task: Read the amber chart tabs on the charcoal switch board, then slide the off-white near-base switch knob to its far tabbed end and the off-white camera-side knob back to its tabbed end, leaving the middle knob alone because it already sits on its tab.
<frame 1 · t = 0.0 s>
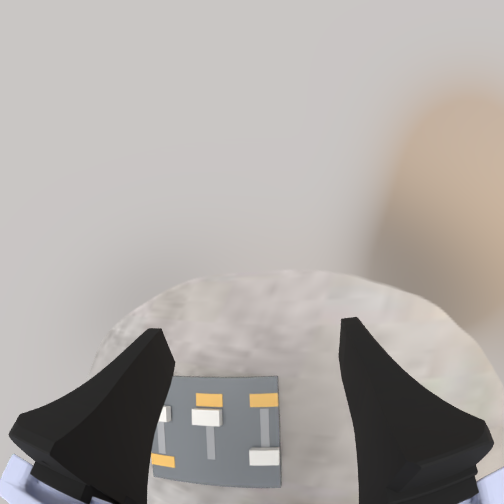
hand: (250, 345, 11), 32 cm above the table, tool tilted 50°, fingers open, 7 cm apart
switch board: (212, 433, 38), on the table
switch a: (264, 456, 33), point 2 cm above the table, slide at 0.0 cm
switch b: (207, 417, 37), point 2 cm above the table, slide at 6.0 cm
switch c: (156, 412, 38), point 2 cm above the table, slide at 6.0 cm
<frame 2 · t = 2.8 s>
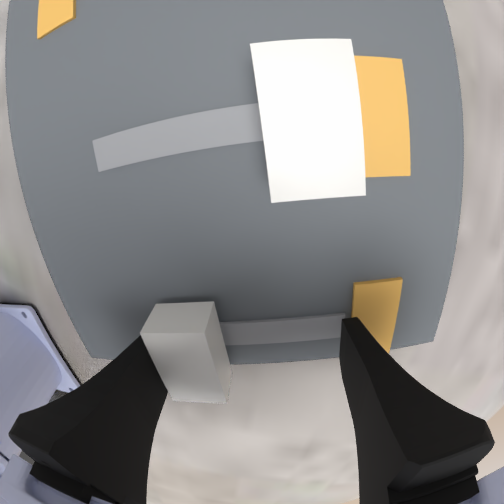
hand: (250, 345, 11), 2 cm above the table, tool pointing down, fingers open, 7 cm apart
switch board: (213, 128, 10), on the table
switch a: (191, 356, 11), point 2 cm above the table, slide at 1.1 cm, touching gripper
switch b: (308, 117, 7), point 2 cm above the table, slide at 6.0 cm
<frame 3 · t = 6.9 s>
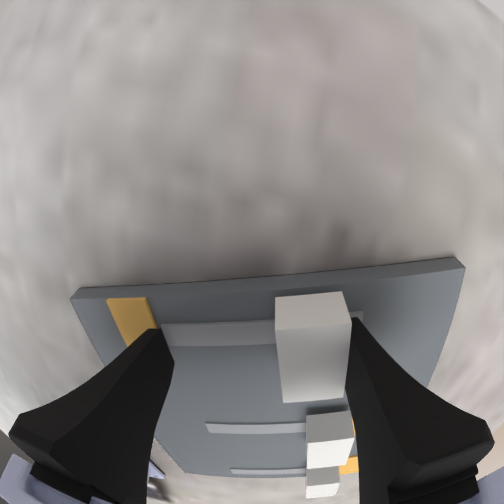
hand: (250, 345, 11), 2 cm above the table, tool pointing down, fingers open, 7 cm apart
switch board: (276, 414, 16), on the table
switch a: (321, 482, 17), point 2 cm above the table, slide at 6.1 cm
switch b: (327, 442, 14), point 2 cm above the table, slide at 6.0 cm
switch c: (311, 351, 10), point 2 cm above the table, slide at 5.0 cm, touching gripper
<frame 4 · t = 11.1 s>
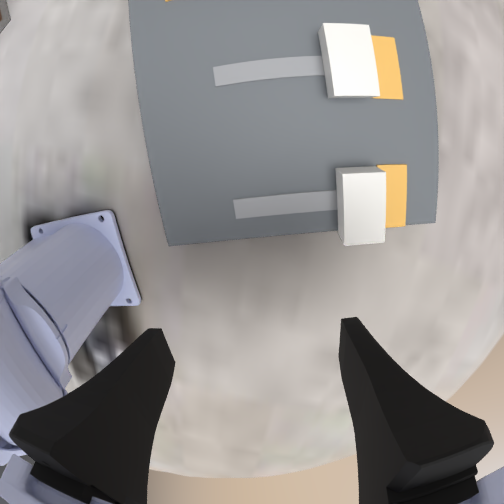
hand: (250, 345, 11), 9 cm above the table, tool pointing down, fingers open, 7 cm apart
switch board: (289, 70, 15), on the table
switch a: (360, 204, 15), point 2 cm above the table, slide at 6.1 cm
switch b: (348, 61, 12), point 2 cm above the table, slide at 6.0 cm
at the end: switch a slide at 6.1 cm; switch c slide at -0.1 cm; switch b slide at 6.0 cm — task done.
